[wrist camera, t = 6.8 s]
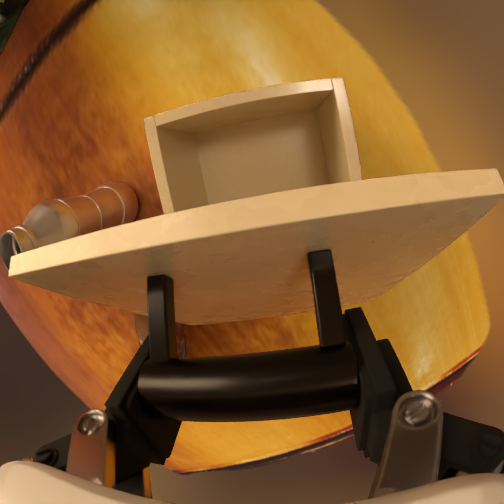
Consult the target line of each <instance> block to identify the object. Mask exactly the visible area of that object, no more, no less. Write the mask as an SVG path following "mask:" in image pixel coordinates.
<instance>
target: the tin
mask: <svg viewBox="0 0 504 504" xmlns="http://www.w3.org/2000/svg"><path fill="white" fill-rule="evenodd" d="M175 324H176V339H177V352H178V357H179V358H185V357H186V345H185V338H184V333H183V328H182V323H178V322H175ZM135 329H136V333H137V336H138V340H139V344H140V346H141V345H142V343H143V342H144V340H145V339H146V337H147V335H148V316H145V315H140V314H136V313H135Z"/></svg>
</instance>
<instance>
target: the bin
mask: <svg viewBox="0 0 504 504" xmlns="http://www.w3.org/2000/svg"><path fill="white" fill-rule="evenodd" d="M144 124H145V130H146V135H147V140H148V145H149V150H150V155H151V160H152V165H153V169H154V174H155V178H156V183H157V187H158V191H159V195H160V200H161V204H162V208H163V212H164V214H169V213H173V212H178V211H183V210H187V209H192V208H197V207H201V206H206V205H211V204H216V203H221V202H226V201H232V200H237V199H242V198H248V197H253V196H259V195H264V194H270V193H276V192H282V191H288V190H294V189H300V188H307V187H314V186H320V185H327V184H334V183H342V182H349V181H357V180H362V173H361V166H360V159H359V153H358V147H357V141H356V135H355V130H354V125H353V120H352V115H351V110H350V105H349V101H348V96H347V92H346V88H345V83H344V79H343V78H331V79H330V78H328V79H318V80H308V81H300V82H293V83H285V84H279V85H273V86H267V87H261V88H256V89H251V90H246V91H241V92H236V93H232V94H227V95H223V96H219V97H215V98H211V99H207V100H203V101H199V102H196V103H192V104H189V105H185V106H182V107H179V108H175V109H172V110H169V111H166V112H163V113H160V114H157V115H154V116H151V117H148V118H145V119H144Z"/></svg>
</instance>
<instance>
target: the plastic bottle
mask: <svg viewBox="0 0 504 504" xmlns="http://www.w3.org/2000/svg"><path fill="white" fill-rule="evenodd" d="M137 212H138V200H137V196H136V194H135V192H134V190H133V189H132V188H131V187H130V186H129V185H127V184H126V183H123V182H114V181H112V182H108V183H105V184H103V185H101V186H99V187H98V188H96V189H95V190H93V191H91V192H88V193H86V194H84V195H79V196H75V197H70V198H60V199H50V200H46V201H42V202H40V203H38V204H37V205H36V206H35V207H34V208H32V209H31V211H30V212H29V214H28V215H27V217H26V219H25V220H24V222H23V225H22V224H20V225H17V226H15V227H13V228H12V229H10V230H7V231H6V232H4V233H3V234H2V235H1V237H0V255H1V258H2V261H3V263H4V265H5V267H6V268H7V270H8V271H9V268H10V261H11V256H14V255H17V254H20V253H23V252H26V251H30V250H33V249H36V248H39V247H43V246H46V245H49V244H53V243H56V242H59V241H63V240H66V239H70V238H73V237H77V236H81V235H84V234H88V233H92V232H95V231H99V230H103V229H107V228H111V227H115V226H119V225H122V224H127V223H131V222H133V221H134V220H135V218H136V216H137Z"/></svg>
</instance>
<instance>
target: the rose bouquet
mask: <svg viewBox="0 0 504 504" xmlns="http://www.w3.org/2000/svg"><path fill="white" fill-rule="evenodd" d="M27 1H28V0H0V53H1V51H2V49H3V47H4V46H5V44H6V42H7V40H8V38H9V36H10V34H11V32H12V30H13V28H14V26H15V24H16V22H17V20H18V18H19V16H20V15H21V14H20V12H21V11H22V8H23V7H24V5H25V3H26V2H27Z"/></svg>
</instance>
